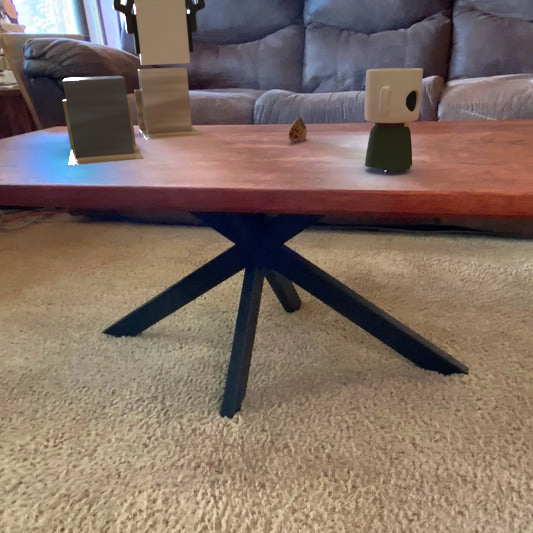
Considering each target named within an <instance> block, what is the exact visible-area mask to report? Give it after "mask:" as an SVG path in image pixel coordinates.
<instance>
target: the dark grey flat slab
mask: <svg viewBox="0 0 533 533" xmlns="http://www.w3.org/2000/svg"><path fill="white" fill-rule="evenodd" d="M62 86H63V92H64V97H65V99H63V100H62V107H63V111H64V117H65V122H66V123H65V124H66V128H67V133H68V140H69V146H70V154H69V159H68V166H78V165H89V164H101V163H112V162H122V161H134V160H144V156H143V154H142V153H141V151H140V149H139V147H138V146H137V143H136V136H135V126H134V121H133V111H132V105H131V104H132V103H131V98H130V96H128V93H127V85H126V78H125V77H124V76H122V75H108V76H107V75H105V76H83V77H66V78H64V79H63V80H62Z"/></svg>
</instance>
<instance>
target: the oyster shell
mask: <svg viewBox="0 0 533 533" xmlns="http://www.w3.org/2000/svg"><path fill="white" fill-rule="evenodd" d="M307 130H308V129H307V126H306V124H305V122H304V121H303V119H302V118H301V117H300V116H298V117H296V119H295V120H294V121H293V123H292V125H291V128H290V129H289V131H288V140H289V141H291V143H295V144H297V142H298V141H299V142H303V140H304V141H306V139H307V132H308V131H307Z"/></svg>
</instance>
